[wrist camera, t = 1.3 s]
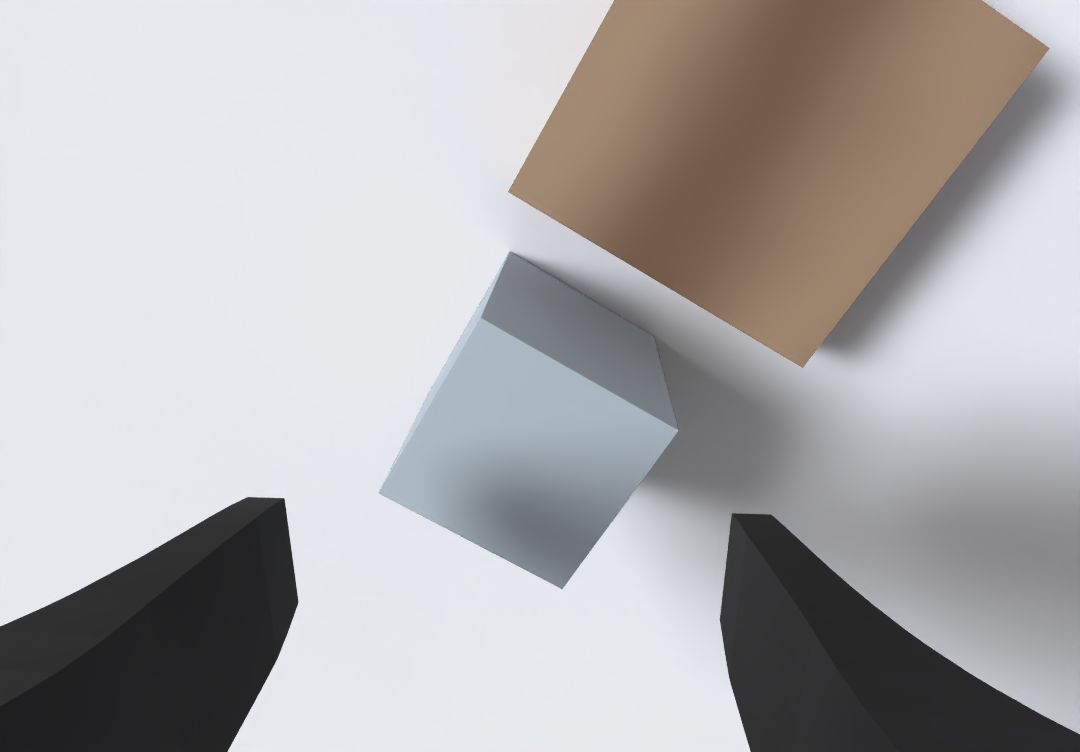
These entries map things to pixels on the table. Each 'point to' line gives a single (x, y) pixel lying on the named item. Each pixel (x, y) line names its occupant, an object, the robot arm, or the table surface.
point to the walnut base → (770, 144)
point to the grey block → (536, 425)
